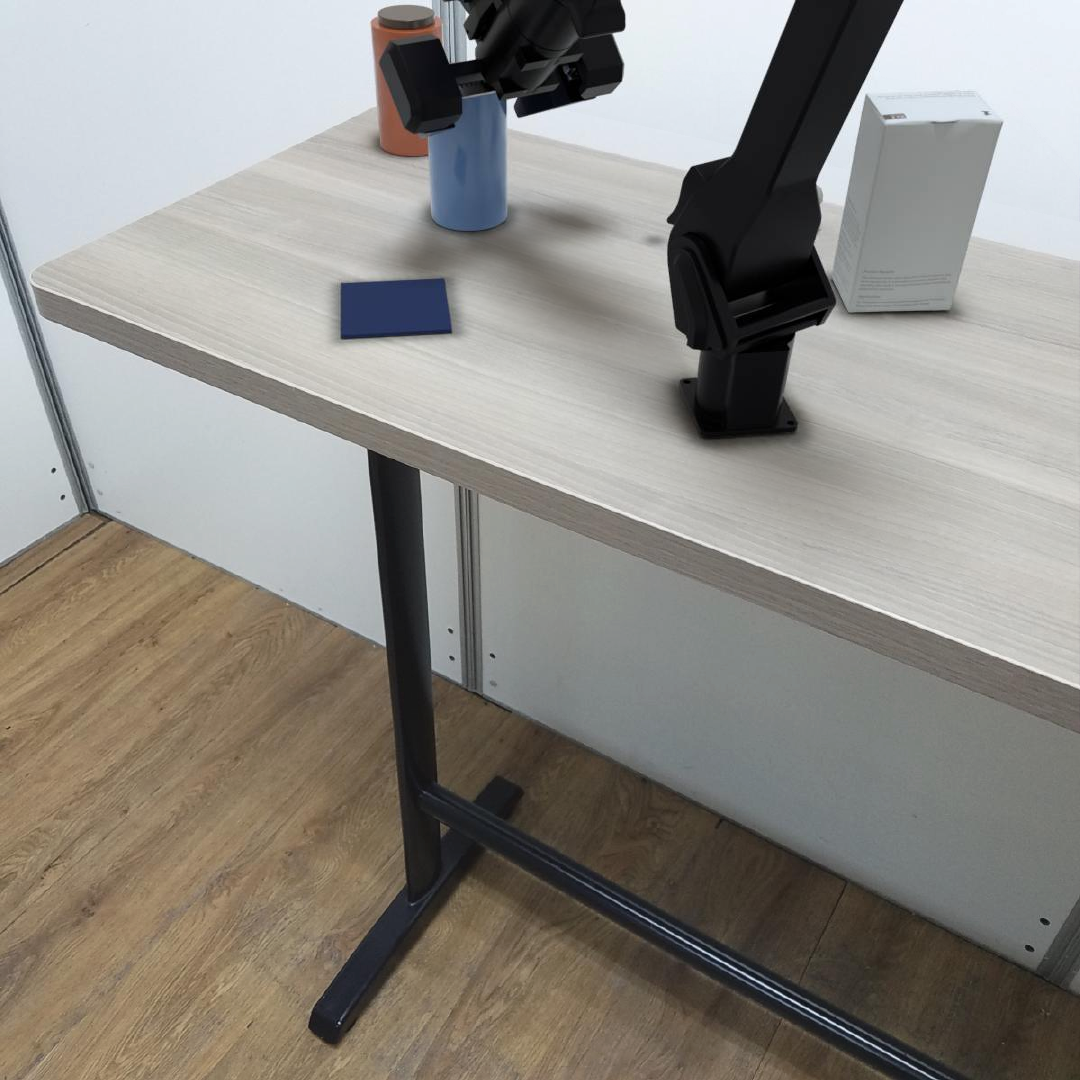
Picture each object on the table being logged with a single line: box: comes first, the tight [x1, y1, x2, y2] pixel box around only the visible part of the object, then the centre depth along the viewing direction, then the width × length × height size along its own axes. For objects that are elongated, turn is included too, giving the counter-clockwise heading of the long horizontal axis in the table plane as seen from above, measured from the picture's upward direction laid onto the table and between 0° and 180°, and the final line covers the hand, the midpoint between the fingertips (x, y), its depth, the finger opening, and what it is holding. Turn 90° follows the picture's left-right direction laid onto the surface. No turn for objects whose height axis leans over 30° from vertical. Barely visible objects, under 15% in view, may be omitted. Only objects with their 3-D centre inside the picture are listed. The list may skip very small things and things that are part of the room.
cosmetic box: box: [831, 89, 1004, 313], centre depth 79 cm, size 8×6×15 cm
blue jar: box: [427, 61, 508, 232], centre depth 90 cm, size 7×7×12 cm
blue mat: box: [340, 277, 453, 340], centre depth 81 cm, size 8×8×1 cm
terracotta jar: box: [369, 4, 445, 157], centre depth 102 cm, size 7×7×12 cm
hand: (469, 122), depth 89 cm, fingers open, 9 cm apart
